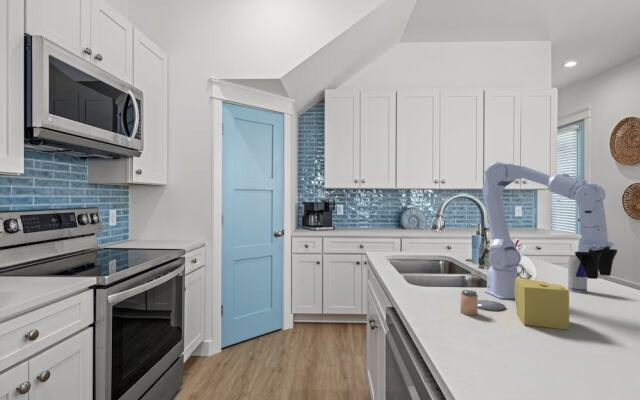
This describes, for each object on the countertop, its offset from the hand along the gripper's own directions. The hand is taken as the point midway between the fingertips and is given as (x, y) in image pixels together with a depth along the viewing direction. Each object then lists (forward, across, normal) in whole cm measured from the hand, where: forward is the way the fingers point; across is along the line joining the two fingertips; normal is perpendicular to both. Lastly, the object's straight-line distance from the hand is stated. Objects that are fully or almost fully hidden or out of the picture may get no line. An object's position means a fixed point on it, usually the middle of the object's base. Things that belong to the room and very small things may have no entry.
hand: (599, 276), depth 96 cm
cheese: (+10, -18, +7) cm, 22 cm away
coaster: (+8, -18, +22) cm, 30 cm away
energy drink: (+10, +26, +18) cm, 33 cm away
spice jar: (+9, -29, +20) cm, 36 cm away
